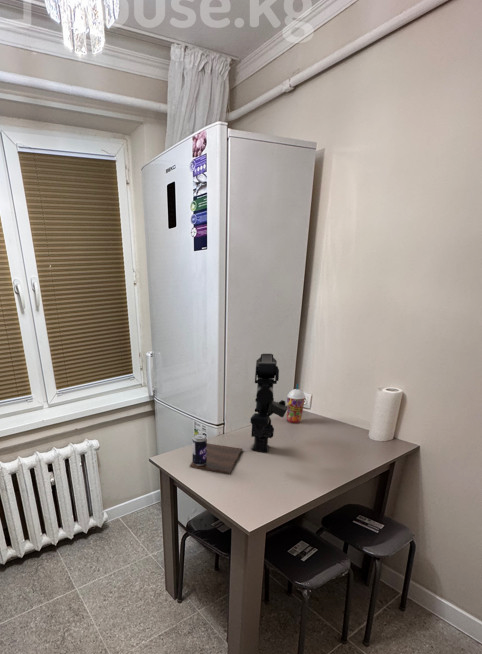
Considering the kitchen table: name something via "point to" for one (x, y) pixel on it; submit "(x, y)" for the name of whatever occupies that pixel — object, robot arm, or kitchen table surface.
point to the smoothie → (295, 405)
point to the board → (220, 458)
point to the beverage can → (199, 449)
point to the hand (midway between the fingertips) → (261, 433)
